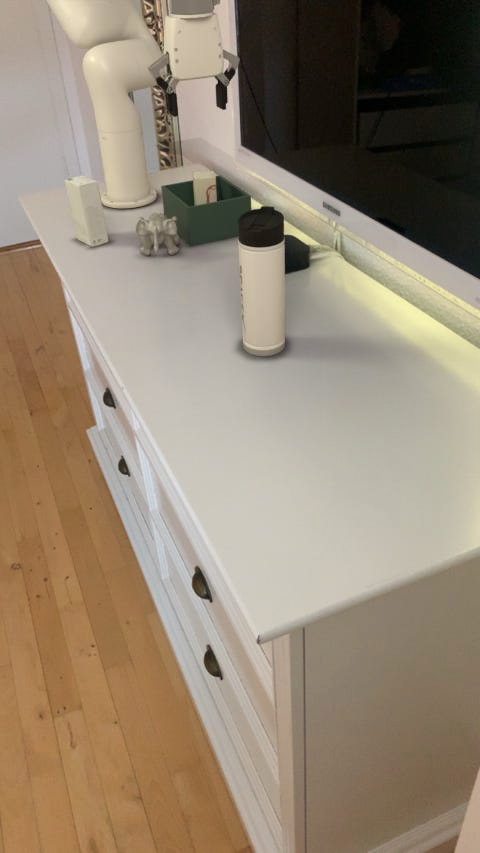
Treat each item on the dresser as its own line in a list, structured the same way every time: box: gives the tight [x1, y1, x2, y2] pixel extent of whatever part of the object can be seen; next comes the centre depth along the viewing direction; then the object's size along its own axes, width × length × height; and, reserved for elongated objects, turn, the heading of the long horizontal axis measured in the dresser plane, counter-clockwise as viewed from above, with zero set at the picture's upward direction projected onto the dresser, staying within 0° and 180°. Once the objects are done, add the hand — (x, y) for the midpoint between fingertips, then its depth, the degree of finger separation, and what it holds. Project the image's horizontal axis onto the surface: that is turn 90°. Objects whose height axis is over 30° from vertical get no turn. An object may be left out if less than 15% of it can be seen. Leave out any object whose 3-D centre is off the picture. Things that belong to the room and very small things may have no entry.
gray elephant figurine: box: [135, 212, 181, 256], centre depth 131 cm, size 9×12×8 cm
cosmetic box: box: [64, 175, 110, 248], centre depth 137 cm, size 6×4×12 cm
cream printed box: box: [191, 170, 217, 206], centre depth 141 cm, size 5×4×10 cm
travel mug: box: [237, 205, 286, 357], centre depth 98 cm, size 6×7×20 cm
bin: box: [160, 174, 252, 247], centre depth 142 cm, size 15×13×8 cm
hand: (197, 111), depth 131 cm, fingers open, 9 cm apart
